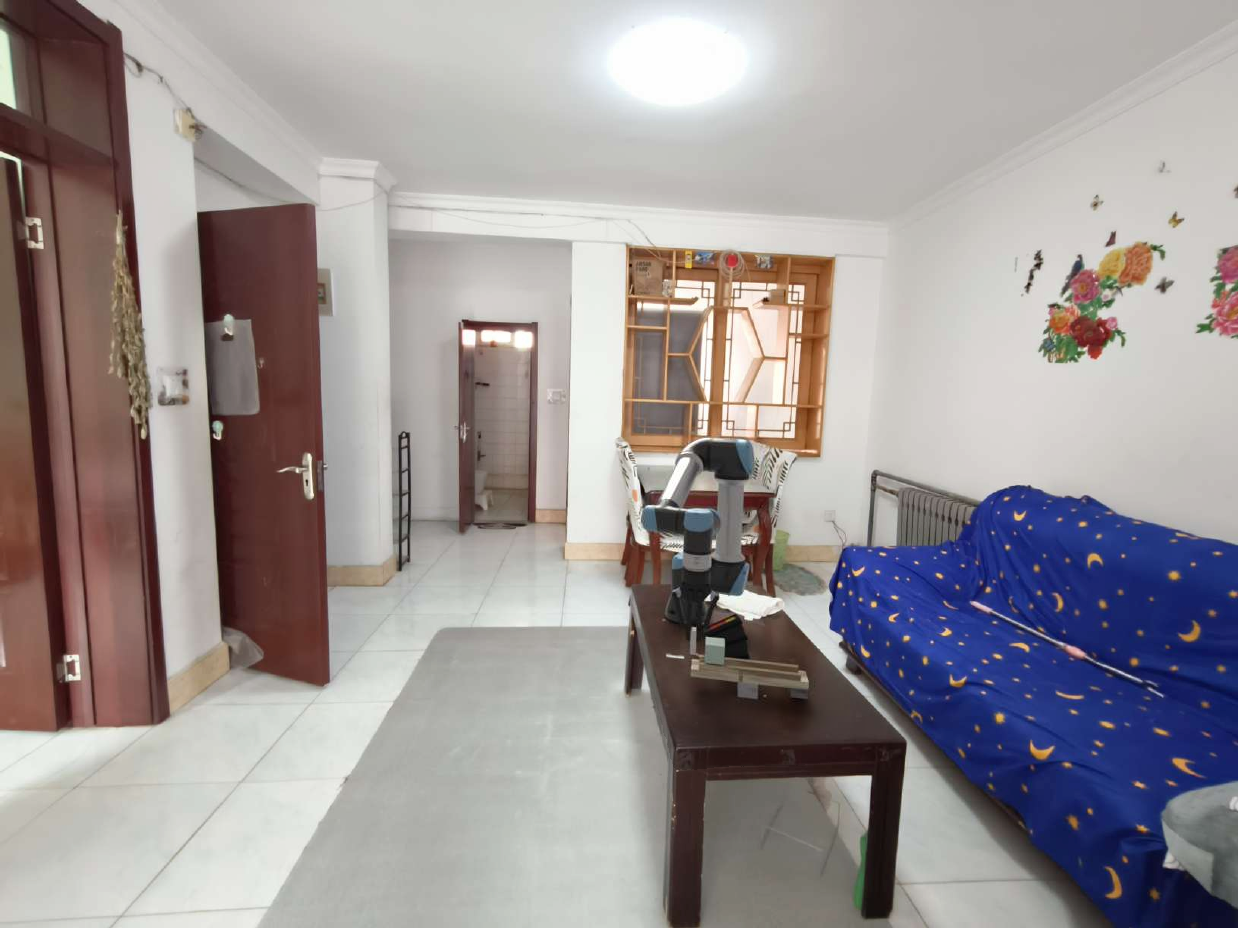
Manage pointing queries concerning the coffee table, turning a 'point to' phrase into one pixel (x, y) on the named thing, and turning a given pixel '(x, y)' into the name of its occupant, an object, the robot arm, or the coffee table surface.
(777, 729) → the coffee table surface
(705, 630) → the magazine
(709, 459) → the robot arm
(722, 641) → the block
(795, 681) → the beam
